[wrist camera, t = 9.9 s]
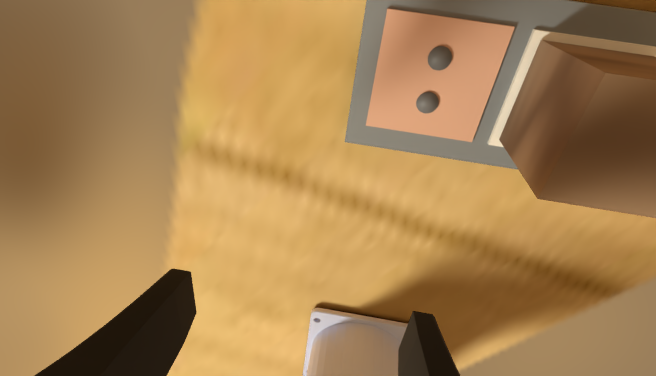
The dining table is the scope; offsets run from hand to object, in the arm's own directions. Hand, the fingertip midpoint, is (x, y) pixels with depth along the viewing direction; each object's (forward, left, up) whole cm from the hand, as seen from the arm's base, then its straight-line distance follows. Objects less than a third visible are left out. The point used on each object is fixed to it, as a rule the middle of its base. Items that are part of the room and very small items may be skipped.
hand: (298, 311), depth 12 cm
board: (+6, -7, -10) cm, 13 cm away
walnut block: (+6, -10, -9) cm, 15 cm away
